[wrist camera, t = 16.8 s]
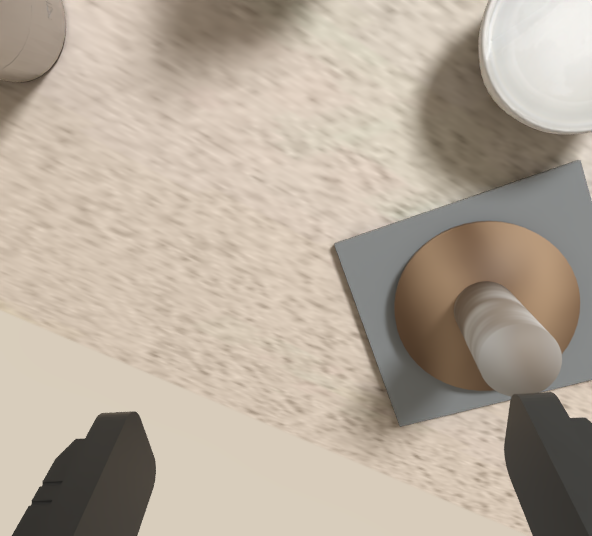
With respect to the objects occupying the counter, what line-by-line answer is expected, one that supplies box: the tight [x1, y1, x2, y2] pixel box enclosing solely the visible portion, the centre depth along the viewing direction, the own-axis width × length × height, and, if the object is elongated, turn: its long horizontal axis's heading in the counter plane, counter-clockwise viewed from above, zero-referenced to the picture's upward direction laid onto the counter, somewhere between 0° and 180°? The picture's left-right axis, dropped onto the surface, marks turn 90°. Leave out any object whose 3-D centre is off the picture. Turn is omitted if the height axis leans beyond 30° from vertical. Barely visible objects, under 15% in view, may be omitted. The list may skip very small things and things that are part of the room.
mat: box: [334, 160, 592, 427], centre depth 37 cm, size 18×16×1 cm
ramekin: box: [479, 0, 592, 135], centre depth 31 cm, size 11×11×5 cm
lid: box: [394, 221, 580, 397], centre depth 32 cm, size 13×13×10 cm
